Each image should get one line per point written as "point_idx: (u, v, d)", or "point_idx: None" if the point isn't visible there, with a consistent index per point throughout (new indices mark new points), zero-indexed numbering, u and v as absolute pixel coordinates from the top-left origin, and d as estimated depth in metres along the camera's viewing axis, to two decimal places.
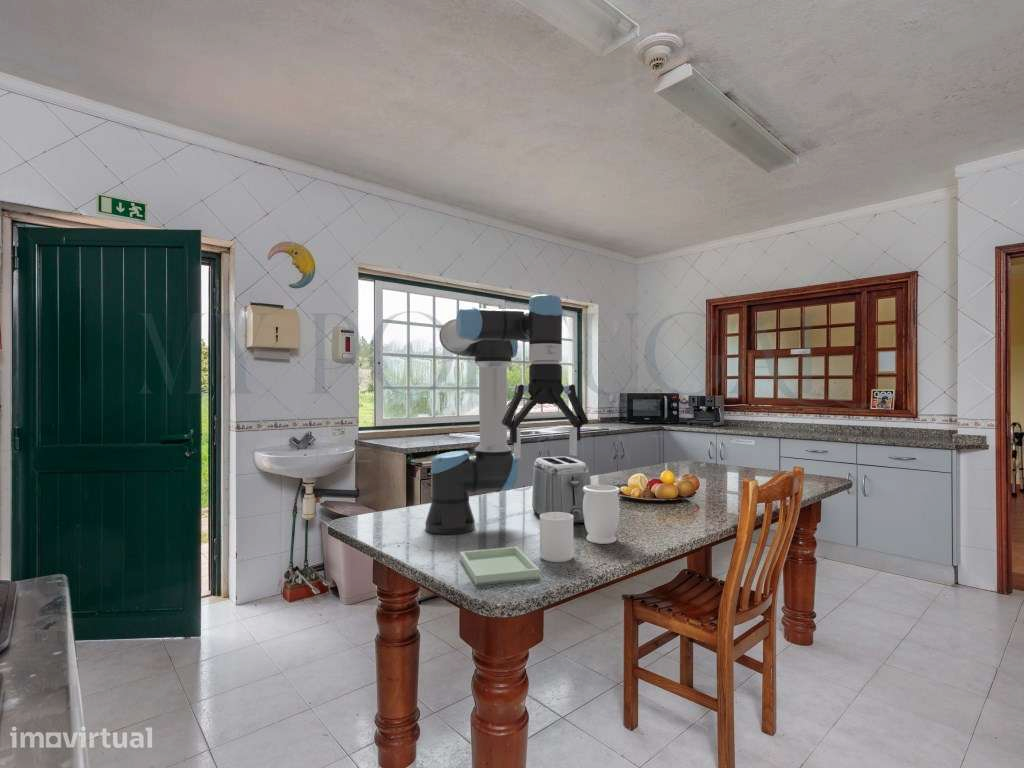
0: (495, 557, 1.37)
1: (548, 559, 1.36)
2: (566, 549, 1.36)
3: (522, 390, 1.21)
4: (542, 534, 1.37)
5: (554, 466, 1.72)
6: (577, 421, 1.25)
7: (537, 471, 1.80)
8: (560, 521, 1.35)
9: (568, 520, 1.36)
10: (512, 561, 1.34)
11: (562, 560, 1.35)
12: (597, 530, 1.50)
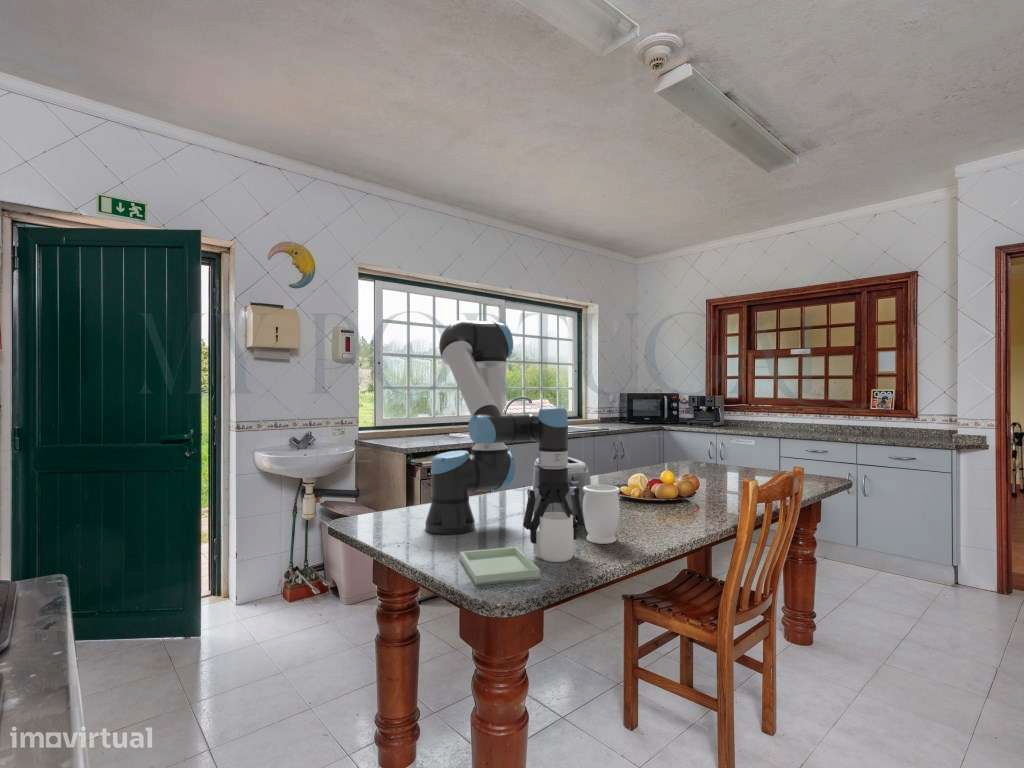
0: (495, 557, 1.37)
1: (548, 558, 1.36)
2: (565, 549, 1.36)
3: (534, 495, 1.38)
4: (541, 534, 1.37)
5: None
6: (574, 522, 1.41)
7: (537, 471, 1.80)
8: (559, 521, 1.35)
9: (568, 520, 1.36)
10: (512, 561, 1.34)
11: (561, 560, 1.35)
12: (597, 530, 1.50)
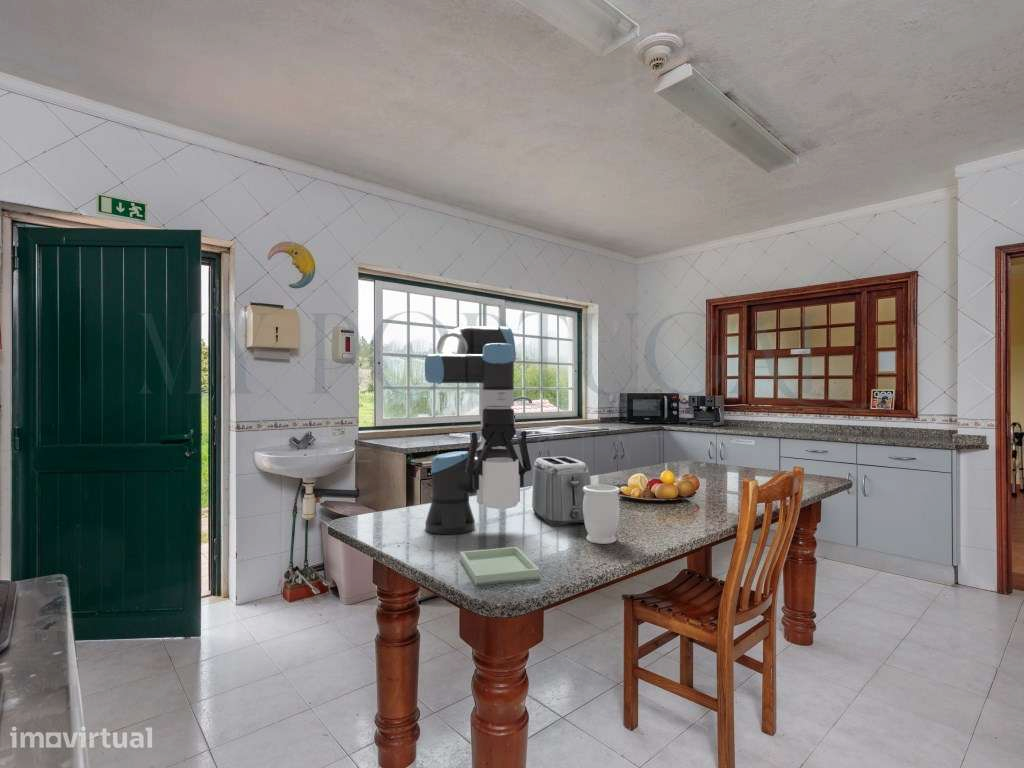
0: (495, 557, 1.37)
1: (490, 505, 1.25)
2: (509, 494, 1.25)
3: (476, 437, 1.28)
4: (484, 479, 1.27)
5: (554, 466, 1.72)
6: (521, 468, 1.31)
7: (537, 471, 1.80)
8: (502, 464, 1.25)
9: (512, 463, 1.25)
10: (512, 561, 1.34)
11: (505, 506, 1.25)
12: (597, 530, 1.50)
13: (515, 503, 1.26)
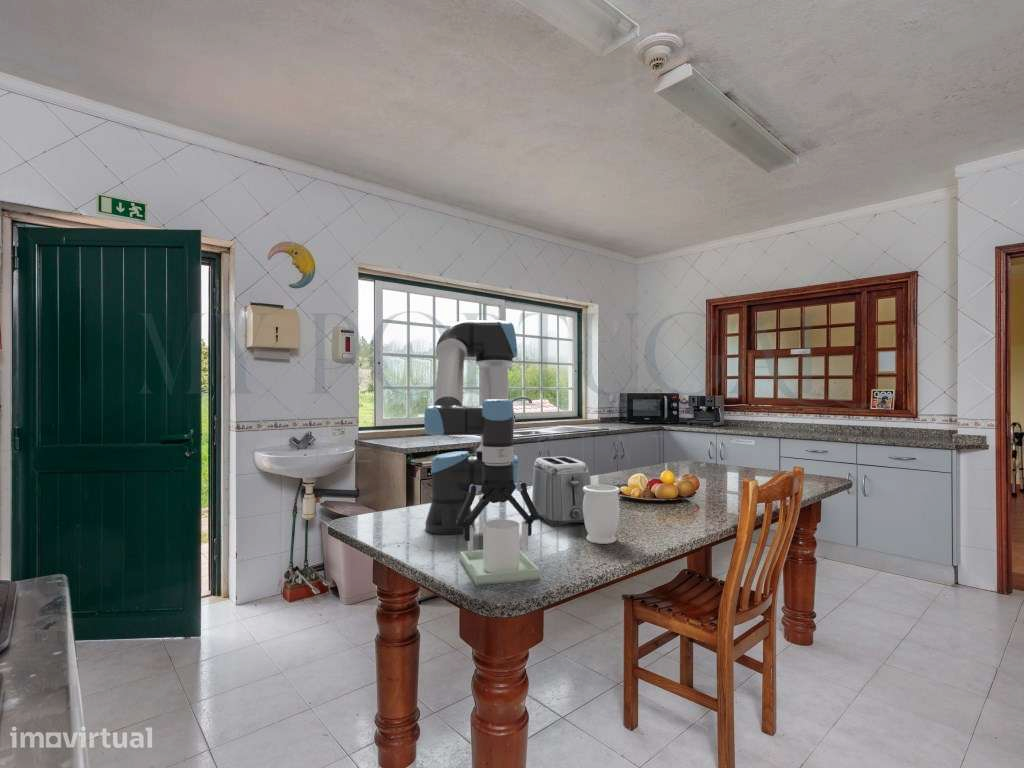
0: None
1: (491, 571, 1.25)
2: (510, 560, 1.25)
3: (474, 491, 1.27)
4: (485, 544, 1.27)
5: (554, 466, 1.72)
6: (528, 517, 1.31)
7: (537, 471, 1.81)
8: (503, 530, 1.24)
9: (512, 529, 1.25)
10: None
11: None
12: (597, 530, 1.50)
13: (516, 568, 1.27)
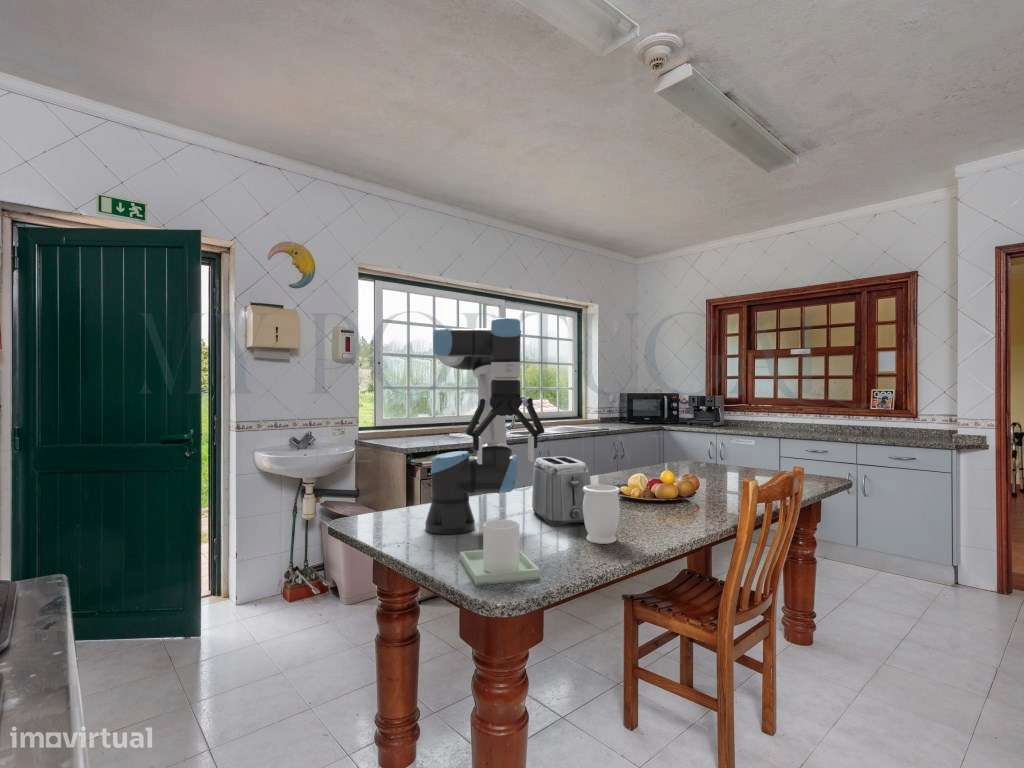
0: None
1: (491, 571, 1.25)
2: (510, 560, 1.25)
3: (483, 404, 1.35)
4: (485, 544, 1.27)
5: (554, 466, 1.72)
6: (534, 431, 1.39)
7: (537, 471, 1.81)
8: (504, 530, 1.25)
9: (513, 528, 1.26)
10: None
11: None
12: (597, 530, 1.50)
13: (516, 568, 1.27)
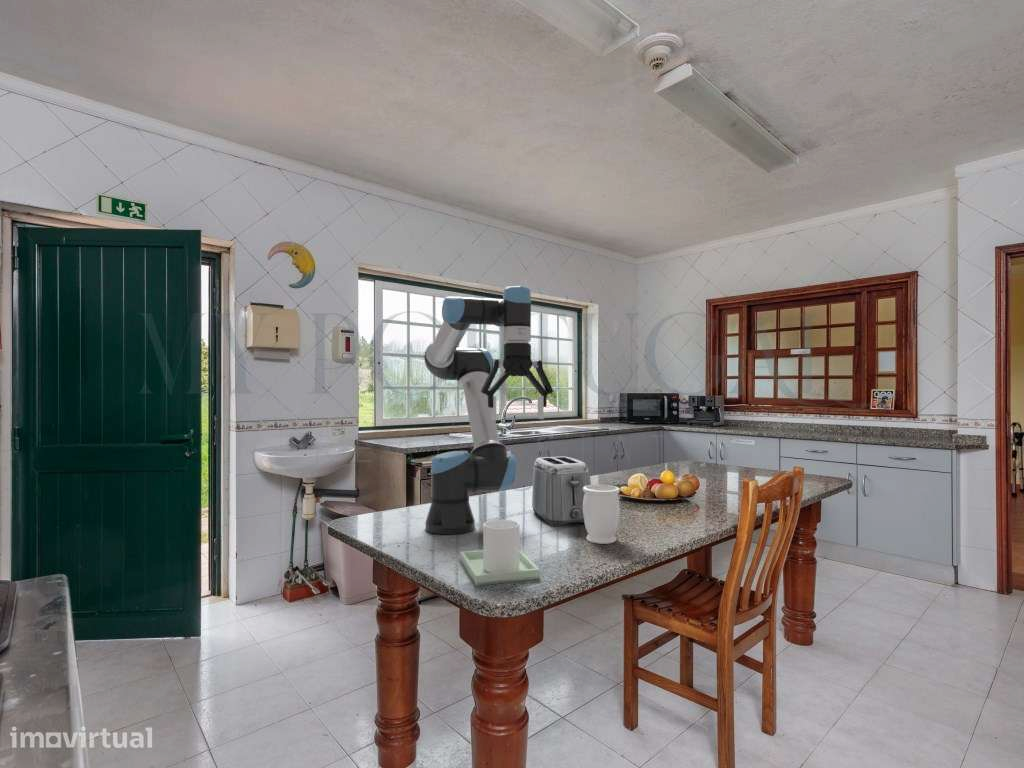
0: None
1: (491, 571, 1.25)
2: (511, 560, 1.25)
3: (497, 364, 1.48)
4: (485, 544, 1.27)
5: (554, 466, 1.72)
6: (543, 390, 1.52)
7: (537, 471, 1.81)
8: (504, 530, 1.25)
9: (513, 529, 1.26)
10: None
11: None
12: (597, 530, 1.50)
13: (516, 568, 1.27)
